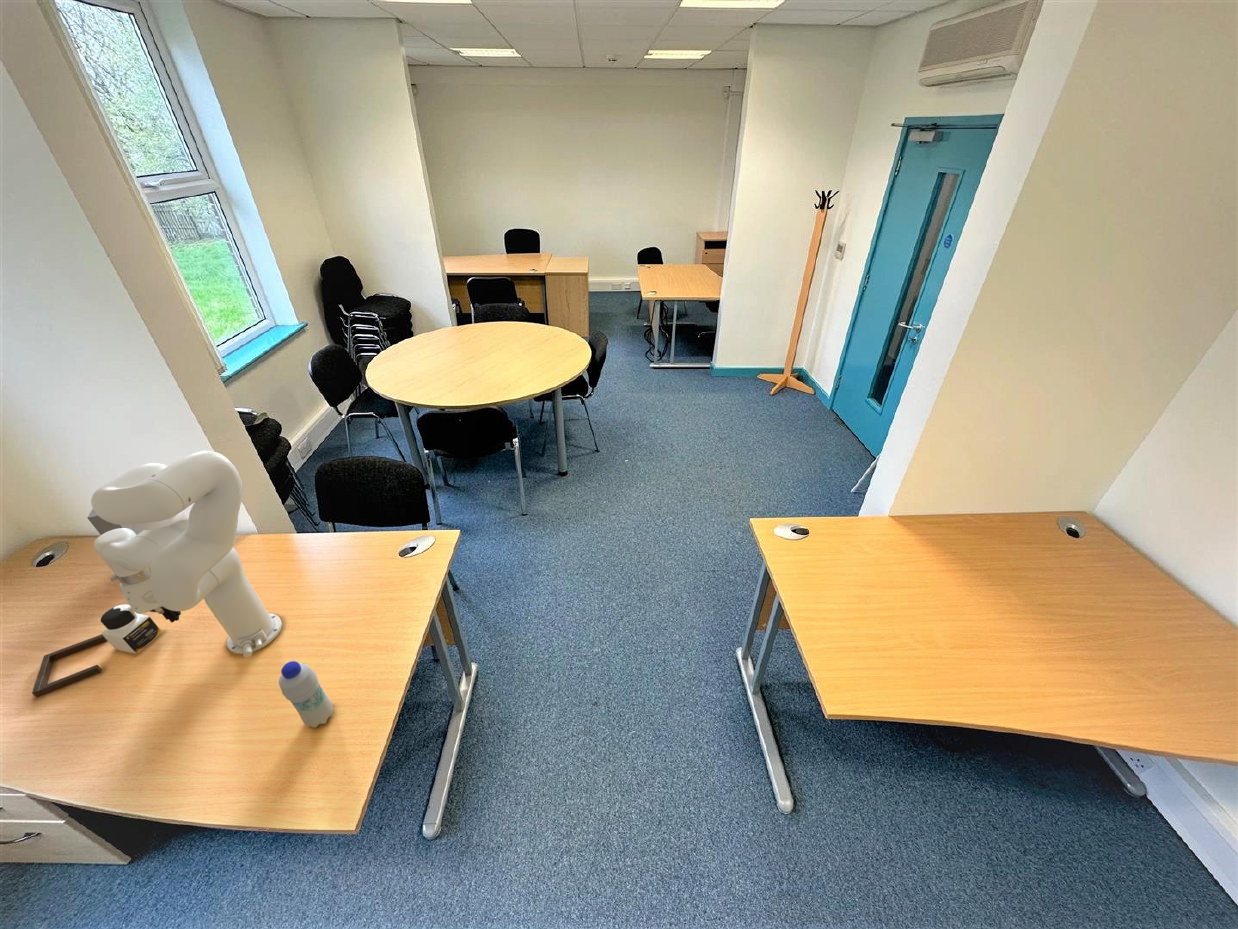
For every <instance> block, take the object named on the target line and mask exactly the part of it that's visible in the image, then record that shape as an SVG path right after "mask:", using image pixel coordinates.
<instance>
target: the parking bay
mask: <svg viewBox="0 0 1238 929" xmlns="http://www.w3.org/2000/svg"><path fill="white" fill-rule="evenodd" d="M106 642H109V641H108V640H107V639H106V638H105V637H104V636H103V635H102V634H99V635H96V636H93V637H91V638H88V639H85V640H83V641H79V642H77V643H74V644H72V645H68V646H66V647H63V648H61V649H57V650H55V651H53V652H50V653H47V654H45V655H43V657H42V661H41V664H40V666H39V670H38V673H37V676H36V679H35V682H34V686H33V687H32V688H33V689H32V691H31V694H32V695H33V696H34V697H36V699H38V698H40V697H43V696H46V695H48V694H51V693H53V692H56V691H58V690H61V689H63V688H66V687H68V686H71V685H73V684H76V683H78V682H80V681H83V680H86V679H88V678H91V677H94V676H96V675H99V674H101V673H102V670H103V669H102V668H101V667H100V666H99V665H98V664H94V665H92V666H90V667H87V668H85V669H83V670H80V671H77V672H74V673H72V674H69V675H67V676H65V677H62V678H59V679H57V680H54V681H52V682H49V679H50V676H51V673H52V669H53V666H54V663H55V661H58V660H61V659H63V658H66V657H69V656H71V655H74V654H77V653H79V652H82V651H84V650H87V649H90V648H92V647H96V646H99V645H100V644H104V643H106Z"/></svg>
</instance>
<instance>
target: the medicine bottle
mask: <svg viewBox="0 0 1238 929" xmlns="http://www.w3.org/2000/svg"><path fill="white" fill-rule="evenodd" d="M100 617H101V618H100V622H101V624H102V625H103V626H104V627H105V629H104V630H103V631H101V634H102V635H103V636H104V637H105V638H106V639H107V640H108V641H107V642H108V643H109V644H110V645H111V646H112V647H113V648H114V649H115V650H117V651H120V652H126V653H130V654H134V655H137V654H139V653H140V652H142V651H143V650H144V649H145V648H146V647H147V646H149V645H150V644H151V643H152V642H154V640H155V639H157V638H158V637H159V636H160V635H161V634H163V631H162V630H161V628H160V627H159V626H158V625H157V624H156V622H155V621H154V620H153V619H152V618H151V616H150V615H146V614H142V613H140V614H139V613H136V612H134V611H133V609H132V608H131V607H130V605H129V604H119V605H116V606H113V607H112V608H110V609H108V610H107V611H105V612H104V613H103V614H102V615H101V616H100ZM101 634H100V635H101Z"/></svg>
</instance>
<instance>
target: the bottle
mask: <svg viewBox="0 0 1238 929" xmlns="http://www.w3.org/2000/svg"><path fill="white" fill-rule="evenodd" d="M280 672H281V675H280V676H279V679H278V685H279V688H280V690H281V694H282V695H283V697H284V698H285V699H286V700H287V701H290V703H291V704H292V706H293V707H294V708H295V710H296V712H297V713H298V715H299V717H300V719H301V721H302V723H304V725H306V726H309V727H311V728H318V727H319V725H325V724H327V722H328V719H329V718H331V717H333V714H334V708H333V707H334V704H333V702H332V700H331V699H330V698H329V696H328V695H327V694H326V693H325V691H324V689H323V687H322V686H321V684H320V683H319V678H318V675H317V673H316V672H315V671H314V670H313V669H312V668H311V667H310V666H309V665H308V664H306V663H299V661H296V660H291V661H288V662H286V663H285V664H283V666H282V668H281V670H280Z"/></svg>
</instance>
